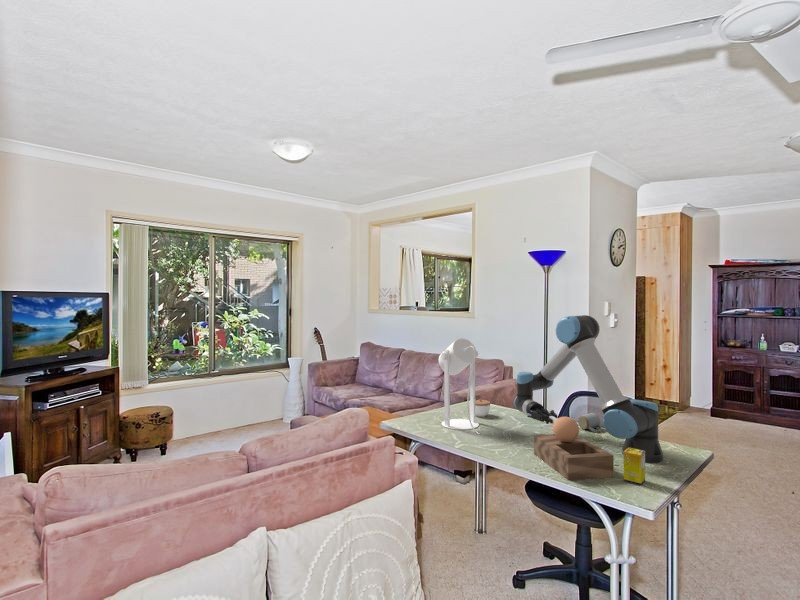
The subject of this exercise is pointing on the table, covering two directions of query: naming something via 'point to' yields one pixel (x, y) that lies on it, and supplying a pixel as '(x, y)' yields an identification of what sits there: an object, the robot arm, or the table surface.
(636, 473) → the supplement box
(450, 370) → the desk lamp
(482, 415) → the lidded jar
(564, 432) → the ball
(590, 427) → the ceramic mug
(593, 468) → the walnut stand
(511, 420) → the table surface
